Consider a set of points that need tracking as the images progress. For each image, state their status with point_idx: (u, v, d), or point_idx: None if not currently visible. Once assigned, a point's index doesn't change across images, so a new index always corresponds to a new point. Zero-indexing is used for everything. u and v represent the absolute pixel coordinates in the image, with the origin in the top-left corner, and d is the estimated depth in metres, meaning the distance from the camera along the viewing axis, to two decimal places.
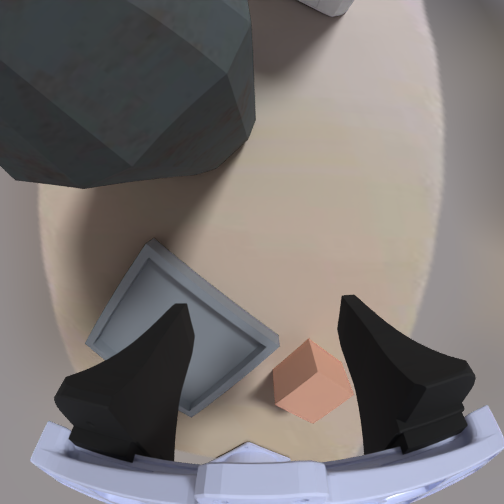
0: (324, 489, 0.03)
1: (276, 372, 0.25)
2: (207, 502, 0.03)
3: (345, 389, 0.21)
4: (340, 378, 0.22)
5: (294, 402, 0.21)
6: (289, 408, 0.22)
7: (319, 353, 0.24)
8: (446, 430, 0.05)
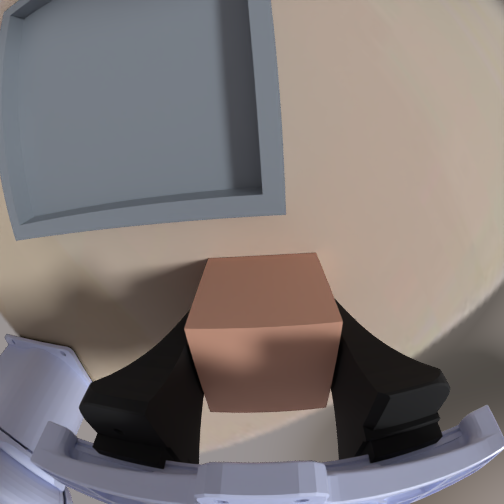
0: (324, 489, 0.03)
1: (215, 268, 0.12)
2: (207, 502, 0.03)
3: (329, 391, 0.10)
4: None
5: (226, 355, 0.09)
6: (203, 358, 0.09)
7: None
8: (418, 440, 0.05)
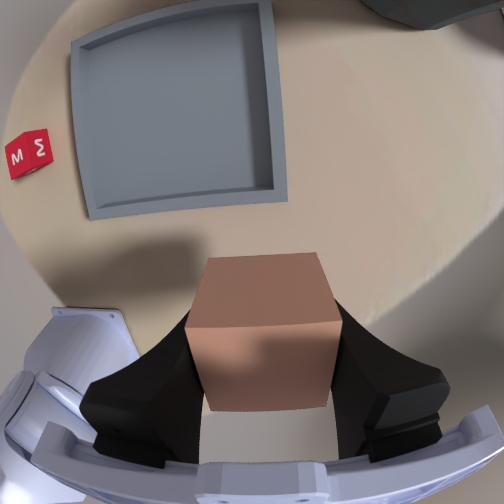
0: (324, 489, 0.03)
1: (216, 267, 0.12)
2: (207, 502, 0.03)
3: (329, 390, 0.10)
4: None
5: (226, 354, 0.09)
6: (204, 357, 0.09)
7: None
8: (418, 440, 0.05)
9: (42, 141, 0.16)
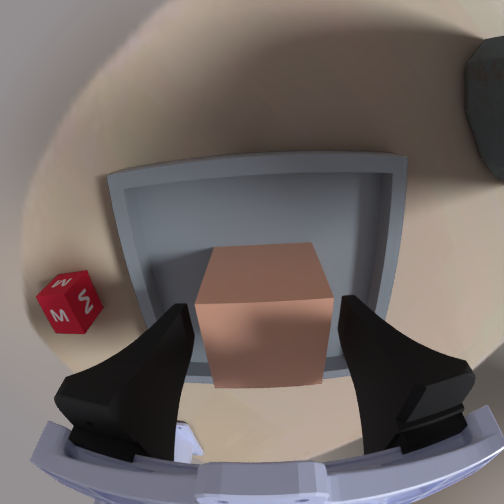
0: (324, 489, 0.03)
1: (221, 254, 0.13)
2: (207, 502, 0.03)
3: (324, 366, 0.11)
4: None
5: (231, 329, 0.10)
6: (211, 332, 0.10)
7: None
8: (446, 430, 0.05)
9: (86, 291, 0.16)
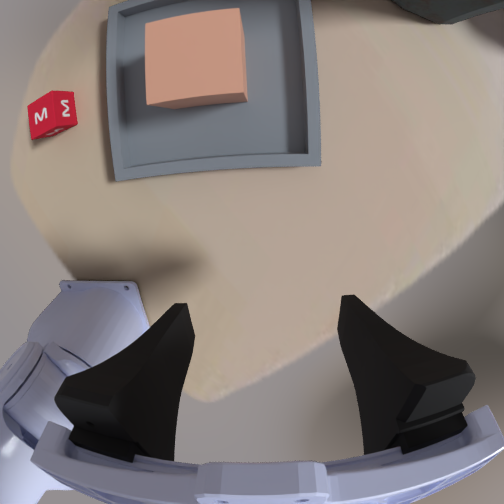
0: (324, 489, 0.03)
1: None
2: (207, 502, 0.03)
3: (242, 70, 0.11)
4: (243, 68, 0.12)
5: (166, 36, 0.10)
6: (152, 42, 0.11)
7: (243, 42, 0.13)
8: (446, 430, 0.05)
9: (68, 103, 0.16)
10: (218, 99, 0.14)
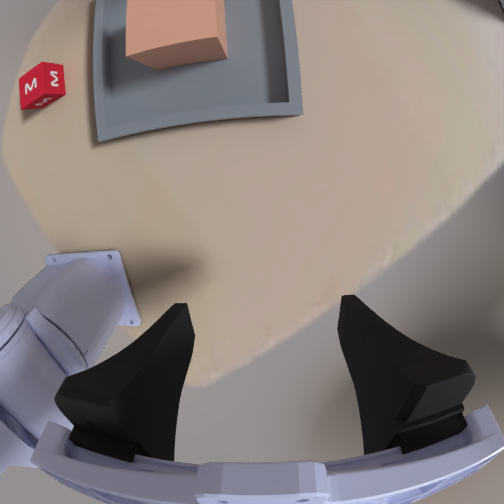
0: (324, 489, 0.03)
1: None
2: (207, 502, 0.03)
3: (216, 18, 0.10)
4: (219, 20, 0.11)
5: None
6: (133, 3, 0.09)
7: (222, 4, 0.12)
8: (446, 430, 0.05)
9: (57, 74, 0.14)
10: (196, 52, 0.13)
